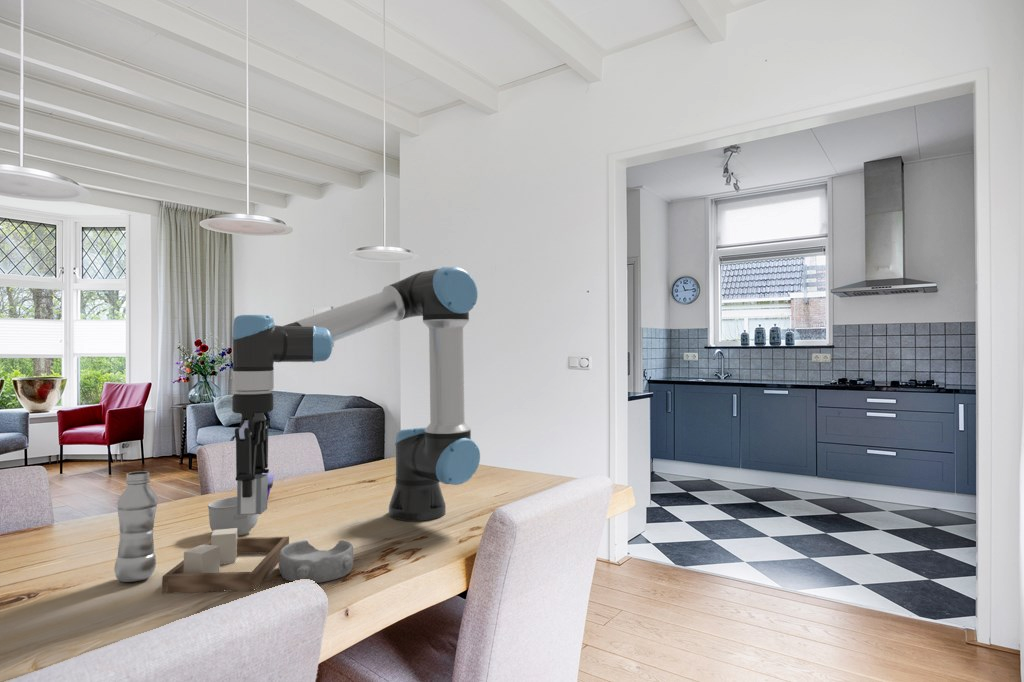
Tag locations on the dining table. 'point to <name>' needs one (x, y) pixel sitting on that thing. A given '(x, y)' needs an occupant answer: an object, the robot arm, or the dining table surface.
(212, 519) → the teacup
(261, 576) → the parts tray
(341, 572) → the dish
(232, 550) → the white block
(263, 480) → the gray block
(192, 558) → the white block
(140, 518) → the plastic bottle
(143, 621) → the dining table surface
